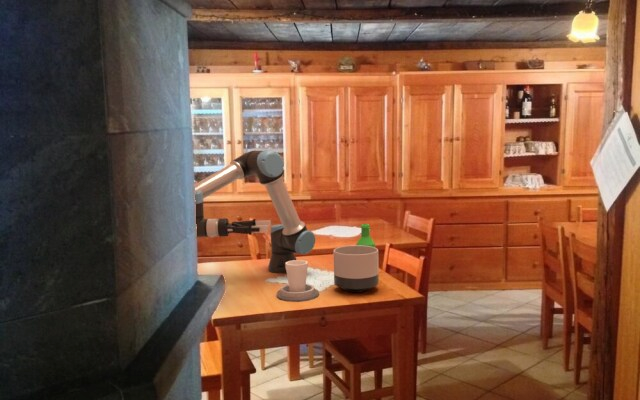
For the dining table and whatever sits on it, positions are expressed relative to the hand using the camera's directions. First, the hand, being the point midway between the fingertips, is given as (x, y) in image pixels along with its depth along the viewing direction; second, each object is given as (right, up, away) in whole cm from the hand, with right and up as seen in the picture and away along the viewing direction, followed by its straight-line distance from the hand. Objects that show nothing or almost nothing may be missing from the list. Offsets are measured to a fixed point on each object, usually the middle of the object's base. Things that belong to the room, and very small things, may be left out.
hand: (269, 226), depth 224 cm
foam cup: (+12, -29, +4) cm, 31 cm away
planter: (+37, -28, +9) cm, 47 cm away
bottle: (+43, -25, +31) cm, 59 cm away
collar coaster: (+12, -29, +4) cm, 32 cm away
